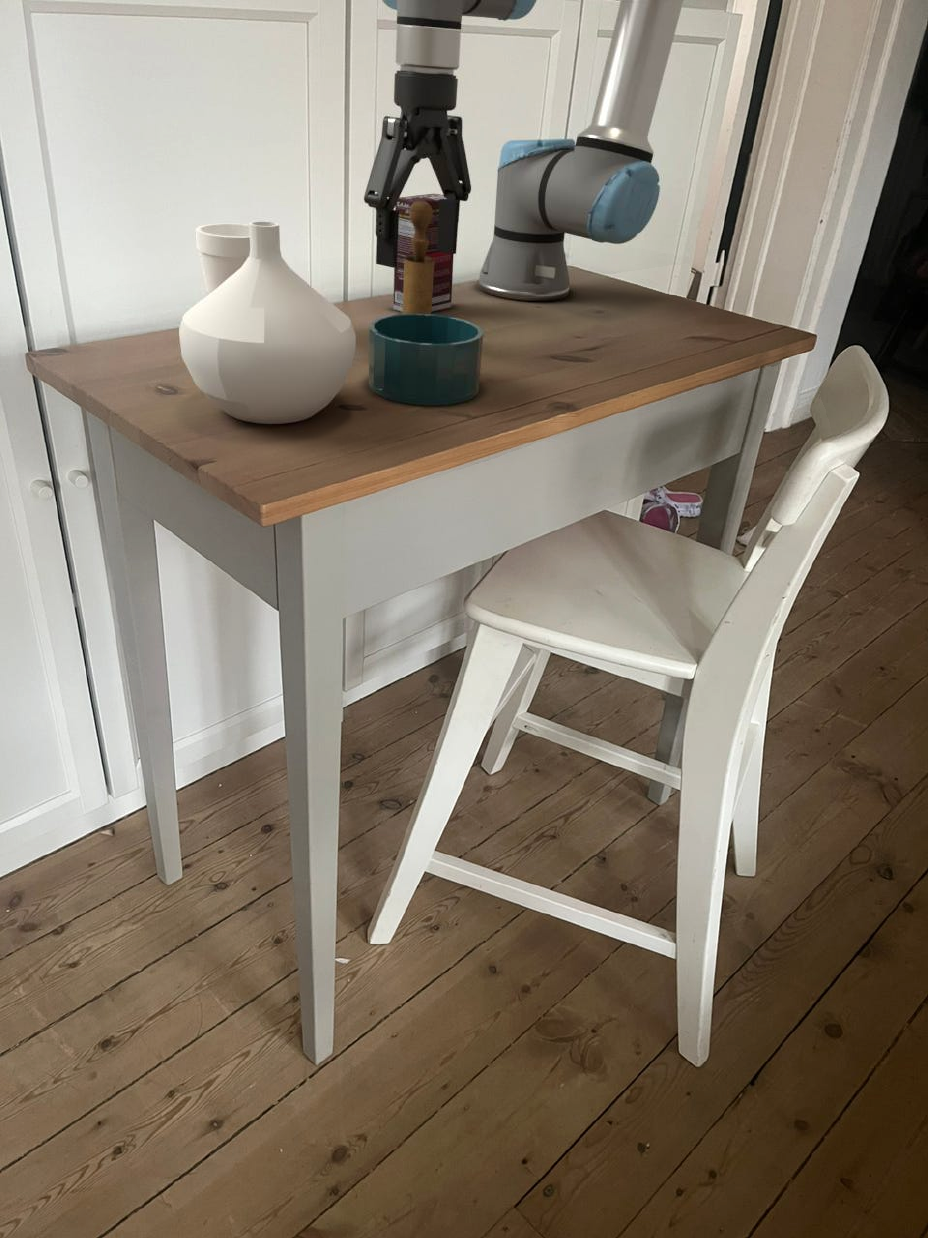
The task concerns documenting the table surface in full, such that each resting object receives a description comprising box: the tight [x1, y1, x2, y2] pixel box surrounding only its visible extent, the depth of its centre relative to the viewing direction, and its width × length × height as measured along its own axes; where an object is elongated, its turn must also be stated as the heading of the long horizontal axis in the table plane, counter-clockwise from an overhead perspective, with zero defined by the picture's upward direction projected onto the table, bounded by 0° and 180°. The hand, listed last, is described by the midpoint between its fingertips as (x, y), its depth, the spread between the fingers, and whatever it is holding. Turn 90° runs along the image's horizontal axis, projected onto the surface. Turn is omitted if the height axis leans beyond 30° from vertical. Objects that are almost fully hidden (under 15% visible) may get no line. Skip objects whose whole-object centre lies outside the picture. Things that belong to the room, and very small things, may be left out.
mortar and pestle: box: [401, 201, 434, 314], centre depth 124 cm, size 7×6×18 cm
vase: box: [178, 220, 357, 425], centre depth 99 cm, size 18×18×19 cm
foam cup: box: [195, 222, 250, 296], centre depth 125 cm, size 10×9×13 cm
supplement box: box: [392, 193, 455, 313], centre depth 141 cm, size 9×5×16 cm, turn 139°
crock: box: [368, 313, 484, 407], centre depth 112 cm, size 13×13×7 cm
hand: (417, 258), depth 123 cm, fingers open, 13 cm apart
